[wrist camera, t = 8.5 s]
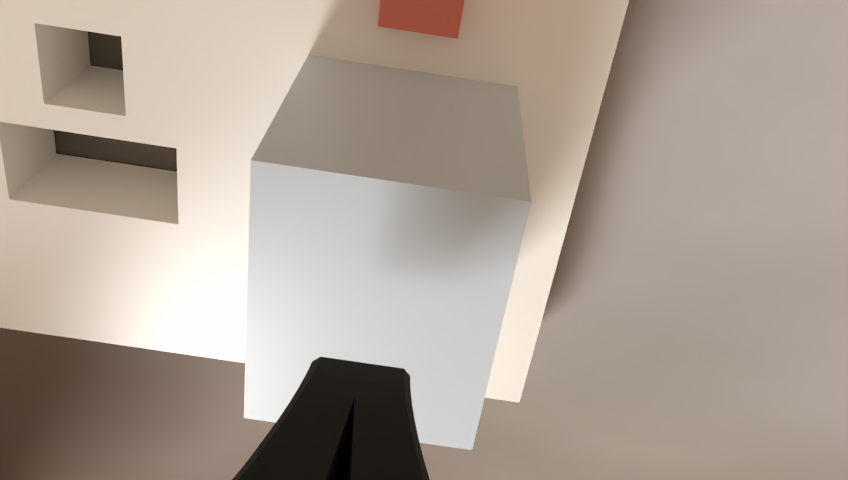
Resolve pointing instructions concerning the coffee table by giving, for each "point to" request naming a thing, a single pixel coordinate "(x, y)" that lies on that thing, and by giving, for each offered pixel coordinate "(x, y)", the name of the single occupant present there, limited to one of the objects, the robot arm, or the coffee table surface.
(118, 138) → the socket board
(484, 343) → the plug
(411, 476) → the robot arm
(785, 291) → the coffee table surface
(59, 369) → the coffee table surface
